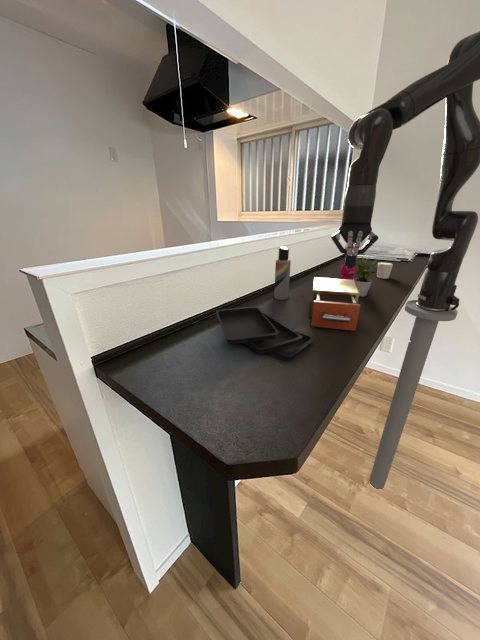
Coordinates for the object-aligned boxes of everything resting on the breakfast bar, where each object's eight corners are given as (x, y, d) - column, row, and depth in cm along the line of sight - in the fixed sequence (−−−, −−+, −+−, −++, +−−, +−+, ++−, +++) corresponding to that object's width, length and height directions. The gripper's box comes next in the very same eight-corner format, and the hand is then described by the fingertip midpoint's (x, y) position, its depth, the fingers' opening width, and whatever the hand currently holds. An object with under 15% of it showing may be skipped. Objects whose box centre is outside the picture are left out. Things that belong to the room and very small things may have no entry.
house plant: (331, 291, 114) (337, 252, 108) (356, 287, 119) (362, 250, 113) (356, 301, 102) (364, 259, 96) (382, 296, 107) (391, 256, 101)
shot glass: (380, 279, 131) (383, 265, 129) (372, 275, 138) (375, 262, 135) (393, 278, 132) (396, 264, 129) (385, 275, 138) (388, 261, 135)
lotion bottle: (281, 294, 111) (283, 245, 102) (291, 298, 106) (294, 247, 98) (271, 297, 107) (273, 247, 99) (281, 301, 103) (284, 249, 95)
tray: (320, 336, 76) (322, 319, 74) (290, 378, 58) (291, 358, 56) (233, 315, 90) (233, 301, 88) (187, 344, 72) (185, 327, 70)
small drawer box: (353, 322, 85) (359, 293, 81) (309, 317, 88) (312, 289, 84) (349, 305, 98) (353, 279, 95) (311, 302, 102) (314, 277, 98)
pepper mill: (345, 277, 135) (351, 236, 127) (357, 280, 130) (365, 238, 122) (336, 279, 131) (342, 237, 123) (348, 282, 126) (356, 239, 118)
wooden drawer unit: (357, 338, 73) (362, 311, 69) (310, 333, 76) (313, 307, 73) (350, 312, 90) (354, 290, 86) (312, 309, 93) (314, 287, 90)
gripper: (333, 205, 69) (326, 270, 76) (389, 203, 66) (376, 272, 73) (332, 204, 76) (325, 264, 83) (382, 203, 72) (371, 265, 80)
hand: (349, 267), depth 78 cm, fingers closed
